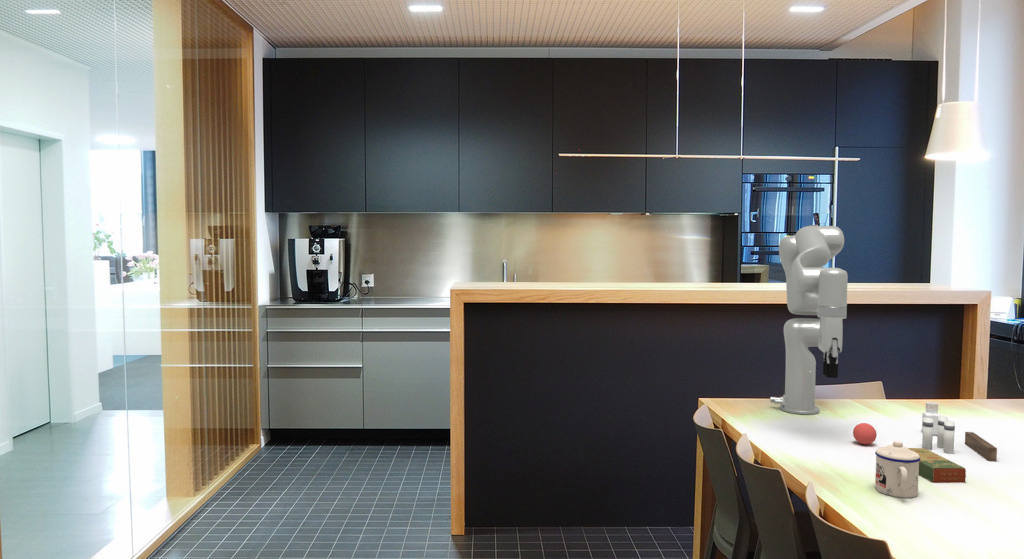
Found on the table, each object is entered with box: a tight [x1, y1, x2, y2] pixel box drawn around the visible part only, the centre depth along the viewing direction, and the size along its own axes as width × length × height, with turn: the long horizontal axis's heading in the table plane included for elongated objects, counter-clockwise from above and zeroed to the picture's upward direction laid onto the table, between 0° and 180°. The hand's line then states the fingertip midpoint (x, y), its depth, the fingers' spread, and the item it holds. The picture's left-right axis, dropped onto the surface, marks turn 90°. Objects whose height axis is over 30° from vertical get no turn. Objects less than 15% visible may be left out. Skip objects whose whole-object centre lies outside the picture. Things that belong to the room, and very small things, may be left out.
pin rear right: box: [942, 420, 956, 455], centre depth 190 cm, size 2×2×8 cm
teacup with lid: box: [874, 440, 920, 499], centre depth 159 cm, size 12×9×12 cm
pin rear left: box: [936, 415, 949, 449], centre depth 195 cm, size 2×2×8 cm
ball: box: [852, 422, 878, 446], centre depth 198 cm, size 6×6×6 cm
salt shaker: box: [921, 401, 941, 436], centre depth 209 cm, size 4×4×10 cm
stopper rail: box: [964, 431, 998, 462], centre depth 191 cm, size 2×16×4 cm, turn 166°
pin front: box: [921, 417, 934, 451], centre depth 194 cm, size 2×2×8 cm
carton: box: [907, 447, 967, 484], centre depth 174 cm, size 8×16×4 cm, turn 1°
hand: (830, 375), depth 199 cm, fingers open, 2 cm apart
